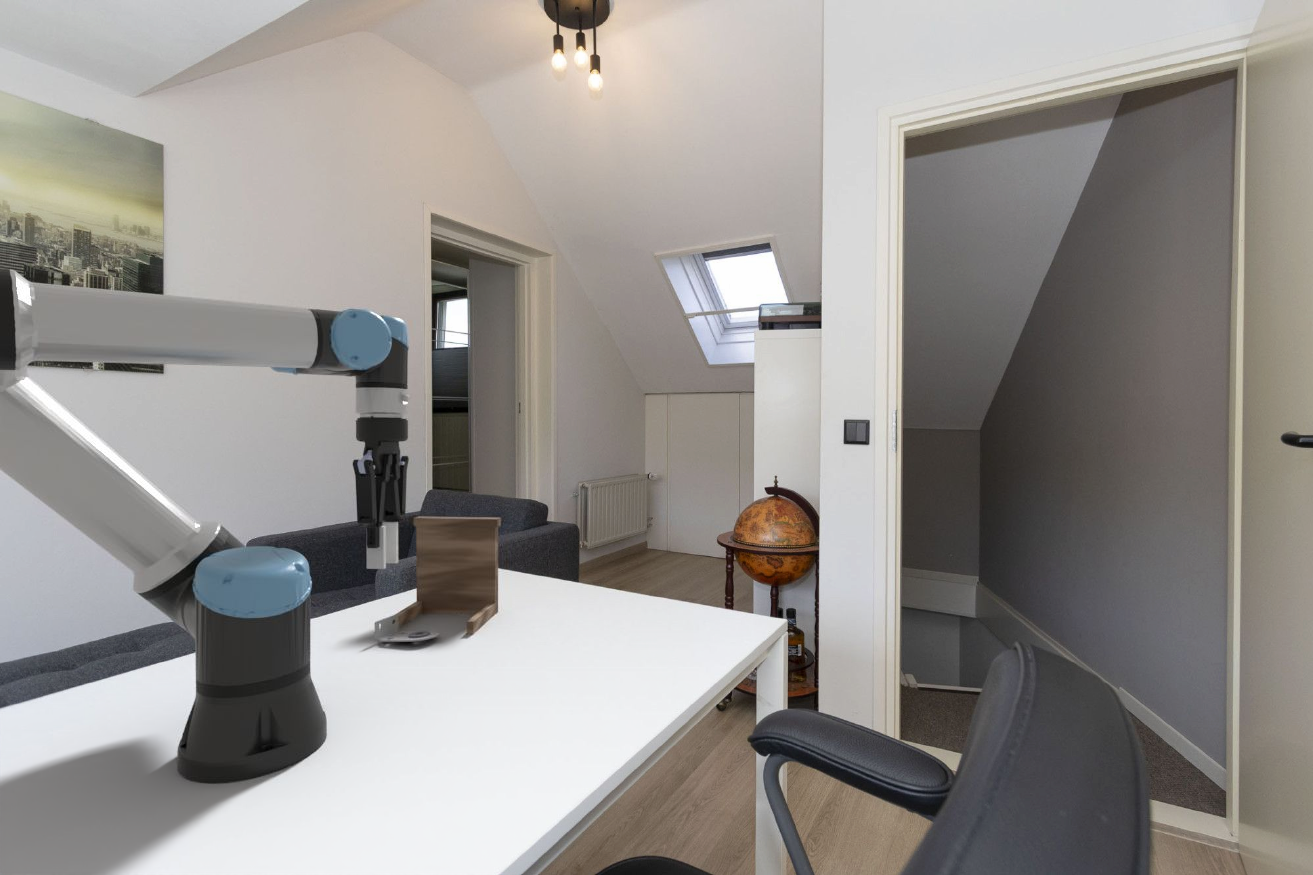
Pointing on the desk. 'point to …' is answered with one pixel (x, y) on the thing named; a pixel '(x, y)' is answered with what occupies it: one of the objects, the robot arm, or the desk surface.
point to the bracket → (390, 634)
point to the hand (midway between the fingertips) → (382, 565)
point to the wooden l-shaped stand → (456, 569)
